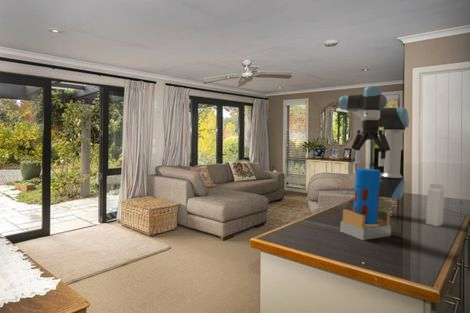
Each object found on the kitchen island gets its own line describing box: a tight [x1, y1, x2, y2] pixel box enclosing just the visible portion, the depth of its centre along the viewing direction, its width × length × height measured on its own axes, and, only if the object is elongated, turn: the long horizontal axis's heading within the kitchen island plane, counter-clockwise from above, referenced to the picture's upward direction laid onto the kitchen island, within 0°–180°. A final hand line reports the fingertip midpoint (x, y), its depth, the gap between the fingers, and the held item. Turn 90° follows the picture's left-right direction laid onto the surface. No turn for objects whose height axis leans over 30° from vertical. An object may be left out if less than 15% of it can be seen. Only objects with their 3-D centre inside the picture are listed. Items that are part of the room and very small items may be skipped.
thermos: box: [353, 168, 382, 225], centre depth 149 cm, size 11×11×25 cm
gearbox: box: [339, 208, 392, 241], centre depth 150 cm, size 14×18×11 cm
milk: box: [425, 183, 445, 227], centre depth 171 cm, size 6×6×22 cm
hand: (368, 164), depth 149 cm, fingers open, 13 cm apart
